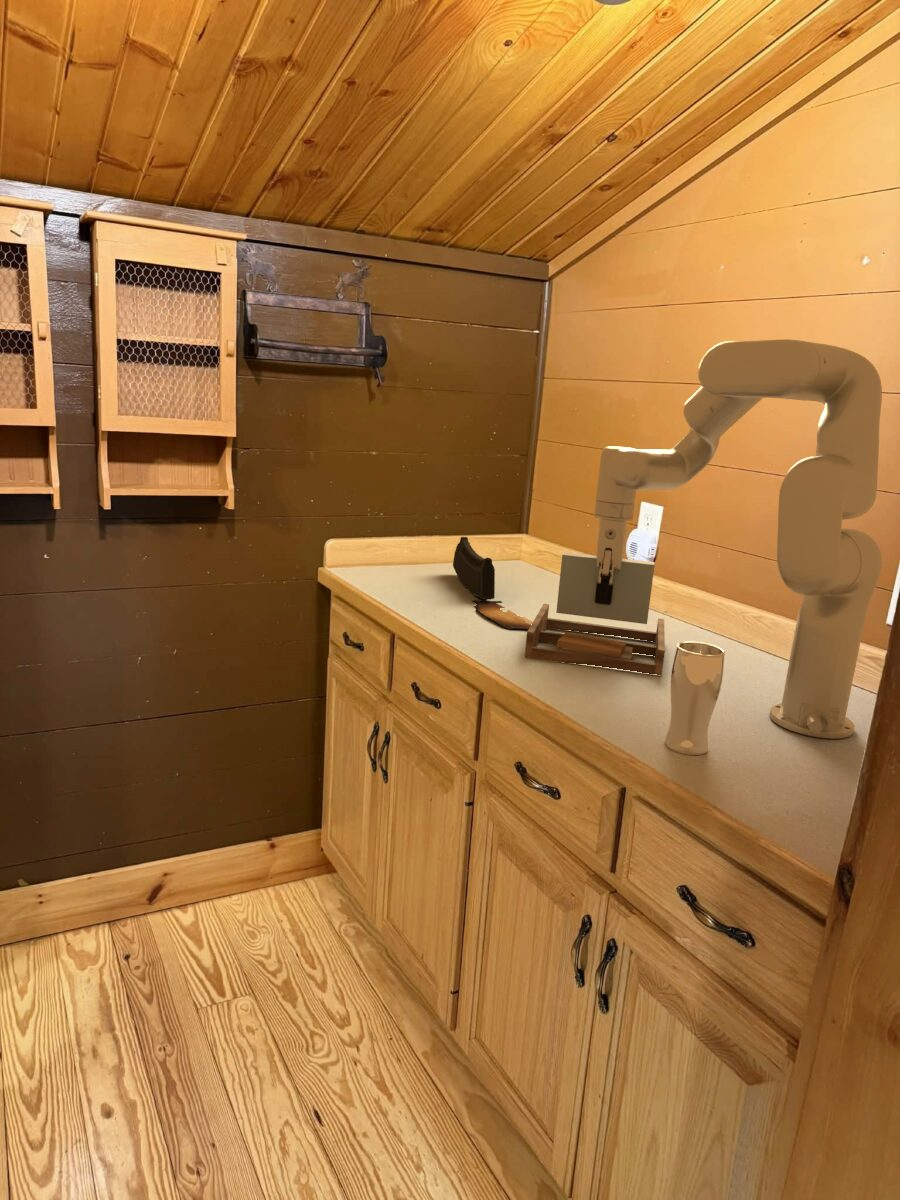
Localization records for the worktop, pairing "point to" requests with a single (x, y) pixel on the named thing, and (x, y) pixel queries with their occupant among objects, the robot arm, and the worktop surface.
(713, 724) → the worktop surface
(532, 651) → the rack
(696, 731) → the beer glass
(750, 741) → the worktop surface
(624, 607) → the tall board
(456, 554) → the magazine
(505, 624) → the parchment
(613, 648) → the offcut stack
